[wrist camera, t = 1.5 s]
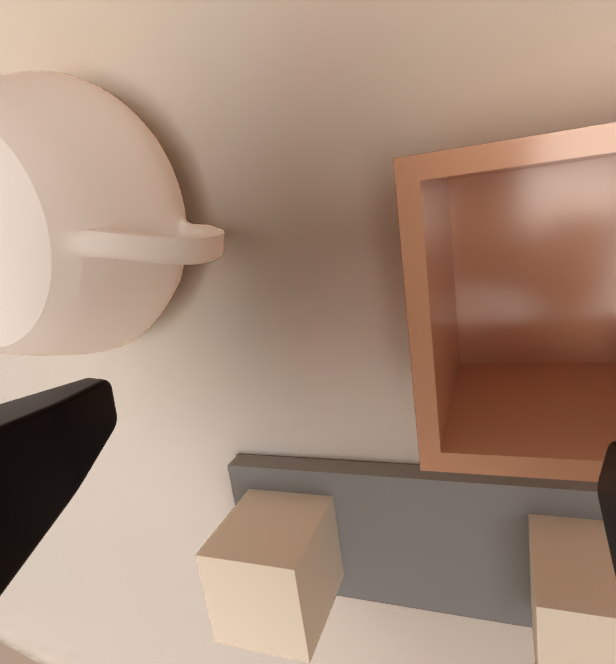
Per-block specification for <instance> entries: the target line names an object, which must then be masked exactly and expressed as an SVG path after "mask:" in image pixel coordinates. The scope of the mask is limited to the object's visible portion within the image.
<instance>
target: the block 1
mask: <svg viewBox="0 0 616 664" xmlns="http://www.w3.org/2000/svg"><path fill="white" fill-rule="evenodd" d="M195 556H196V561H197V565H198V570H199V574H200V579H201V583H202V588H203V592H204V597H205V602H206V606H207V611H208V615H209V620H210V624H211V629H212V633H213V638H214V642H215V643H219V644H224V645H228V646H233V647H237V648H242V649H246V650H251V651H255V652H260V653H264V654H269V655H273V656H278V657H282V658H287V659H291V660H296V661H300V662H305V663H309V664H310V661H311V659H312V656H313V654H314V651H315V649H316V646H317V644H318V641H319V639H320V636H321V633H322V631H323V628H324V626H325V623H326V621H327V618H328V616H329V613H330V610H331V608H332V605H333V603H334V600H335V598H336V595H337V593H338V590H339V588H340V585H341V582H342V580H343V577H344V573H343V565H342V558H341V551H340V543H339V536H338V529H337V521H336V514H335V507H334V500H333V496H324V495H313V494H302V493H291V492H280V491H268V490H257V489H248V491H247V492H246V493H245V494H244V496H243V497H242V498H241V499H240V501H239V502H238V503H237V504H236V506H235V507H234V508H233V509H232V510H231V512H230V513H229V514H228V515H227V517H226V518H225V519H224V520H223V522H222V523H221V524H220V525H219V527H218V528H217V529H216V530H215V531H214V533H213V534H212V535H211V536H210V538H209V539H208V540H207V541H206V543H205V544H204V545H203V546H202V548H201V549H200V550H199V551H198V552H197V554H196V555H195Z"/></svg>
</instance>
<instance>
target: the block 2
mask: <svg viewBox="0 0 616 664" xmlns="http://www.w3.org/2000/svg"><path fill="white" fill-rule="evenodd" d="M528 519H529V553H530V587H531V611H532V624H533V638H534V651H535V664H616V576H615V572H614V568H613V564H612V559H611V554H610V550H609V545H608V541H607V536H606V532H605V527H604V522H603V520H593V519H582V518H571V517H560V516H549V515H537V514H528Z"/></svg>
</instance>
